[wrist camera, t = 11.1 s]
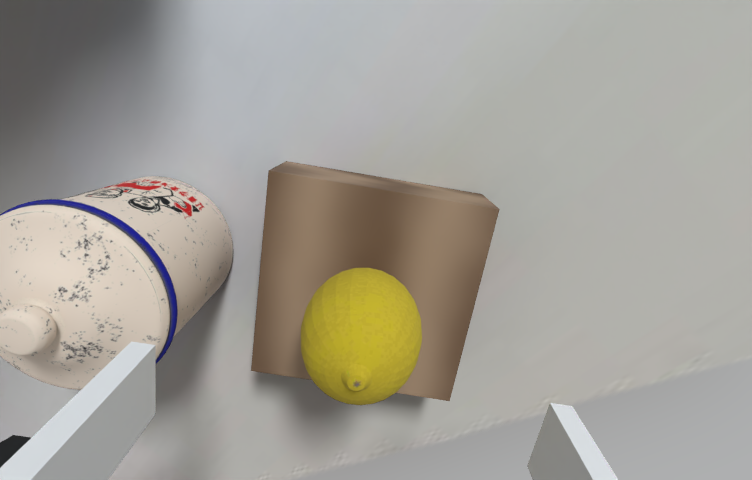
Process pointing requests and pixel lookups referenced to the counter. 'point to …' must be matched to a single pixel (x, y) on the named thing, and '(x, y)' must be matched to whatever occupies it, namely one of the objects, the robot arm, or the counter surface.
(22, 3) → the counter surface
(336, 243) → the walnut plinth
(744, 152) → the counter surface
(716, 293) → the counter surface
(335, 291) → the lemon
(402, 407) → the counter surface
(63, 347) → the teacup with lid
